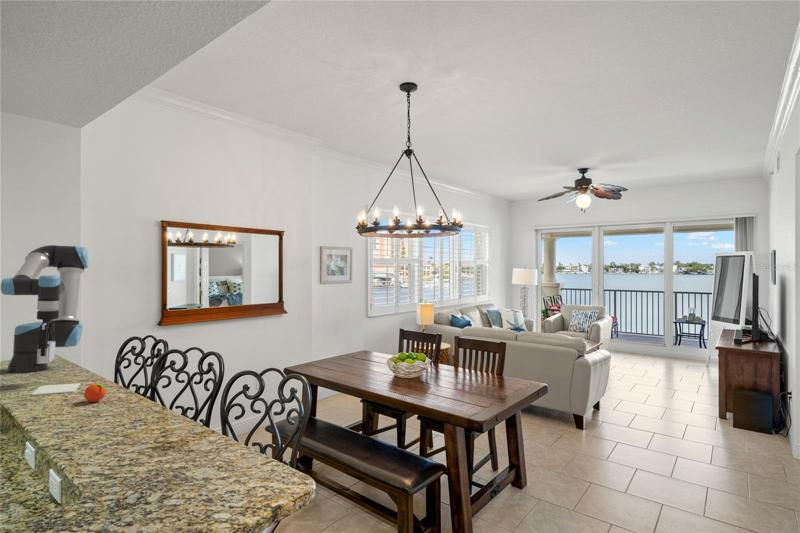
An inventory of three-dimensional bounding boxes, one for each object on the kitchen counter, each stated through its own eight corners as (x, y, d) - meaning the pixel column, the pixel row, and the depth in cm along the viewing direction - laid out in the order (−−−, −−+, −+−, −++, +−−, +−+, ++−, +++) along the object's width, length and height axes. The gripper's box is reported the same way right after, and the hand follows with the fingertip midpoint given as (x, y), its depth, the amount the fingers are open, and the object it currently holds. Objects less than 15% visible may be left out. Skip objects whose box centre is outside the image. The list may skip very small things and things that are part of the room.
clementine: (112, 399, 170) (113, 381, 170) (98, 404, 163) (99, 386, 163) (93, 398, 171) (94, 380, 171) (79, 403, 164) (79, 385, 164)
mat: (40, 387, 184) (40, 385, 184) (80, 384, 190) (80, 383, 190) (30, 395, 171) (30, 394, 171) (73, 392, 178) (74, 391, 178)
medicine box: (42, 360, 192) (43, 341, 192) (54, 359, 194) (55, 340, 194) (36, 364, 185) (37, 344, 185) (49, 363, 187) (50, 343, 187)
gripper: (52, 312, 182) (50, 365, 182) (64, 307, 201) (61, 356, 201) (30, 312, 179) (27, 366, 179) (43, 307, 197) (41, 357, 197)
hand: (45, 361), depth 190 cm, fingers closed on medicine box, 8 cm apart
